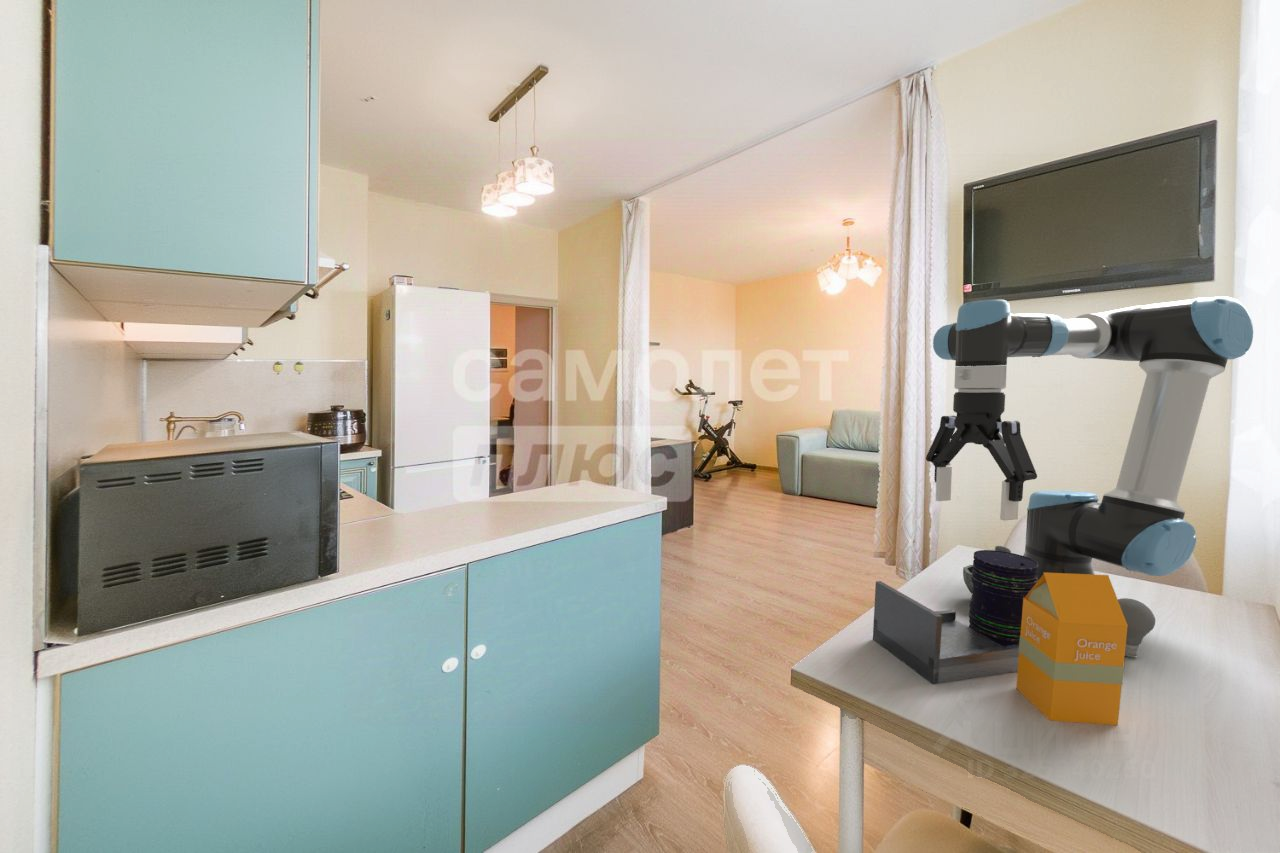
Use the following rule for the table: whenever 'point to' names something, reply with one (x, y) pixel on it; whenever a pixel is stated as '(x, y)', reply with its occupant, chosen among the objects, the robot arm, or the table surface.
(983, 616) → the dark navy cylinder
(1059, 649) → the orange juice
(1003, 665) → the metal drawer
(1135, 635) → the light bulb
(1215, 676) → the table surface
